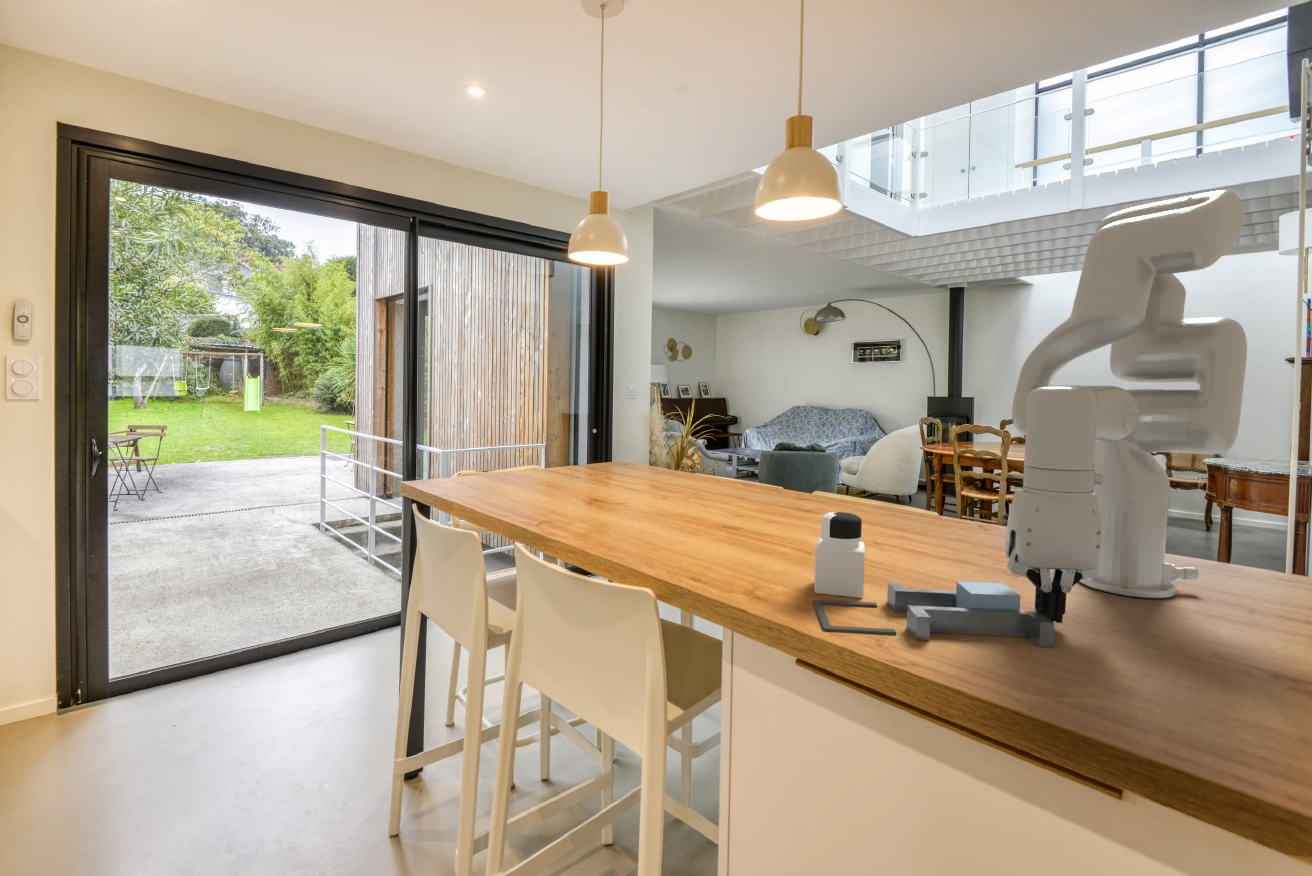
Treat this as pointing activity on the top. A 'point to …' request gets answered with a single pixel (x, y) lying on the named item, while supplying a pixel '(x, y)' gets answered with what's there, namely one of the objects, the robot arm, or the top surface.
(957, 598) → the block
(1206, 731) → the top surface
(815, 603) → the bay
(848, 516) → the medicine bottle
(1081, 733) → the top surface
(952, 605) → the grey stepped fixture
